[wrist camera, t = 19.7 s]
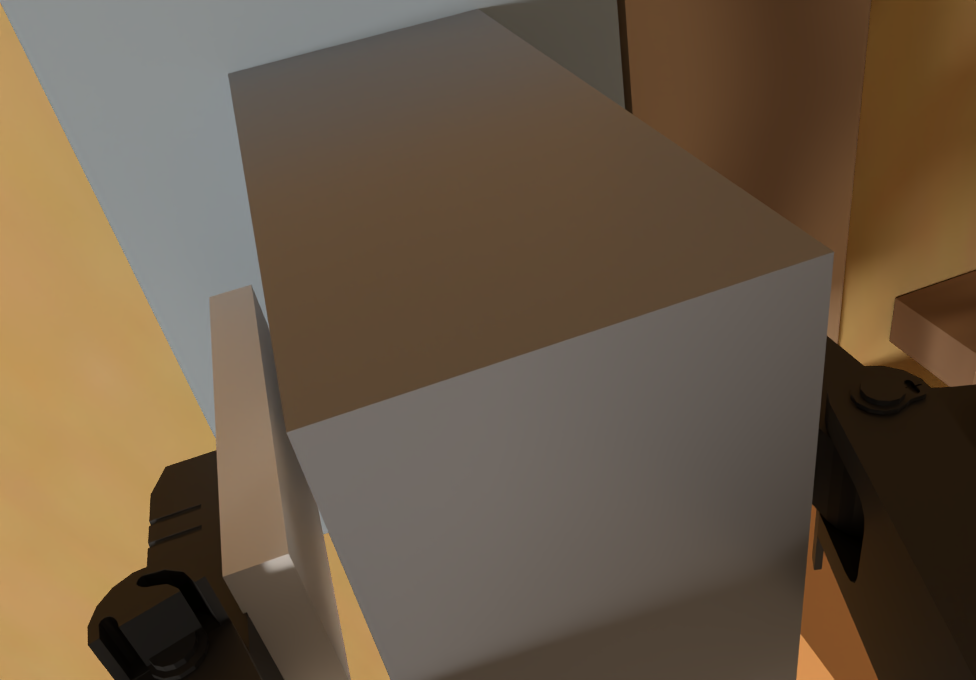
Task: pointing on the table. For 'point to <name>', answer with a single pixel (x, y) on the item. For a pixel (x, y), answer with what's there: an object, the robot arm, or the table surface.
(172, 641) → the robot arm
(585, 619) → the block
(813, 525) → the orange rectangular block
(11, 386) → the table surface
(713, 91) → the cradle
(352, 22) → the mat
